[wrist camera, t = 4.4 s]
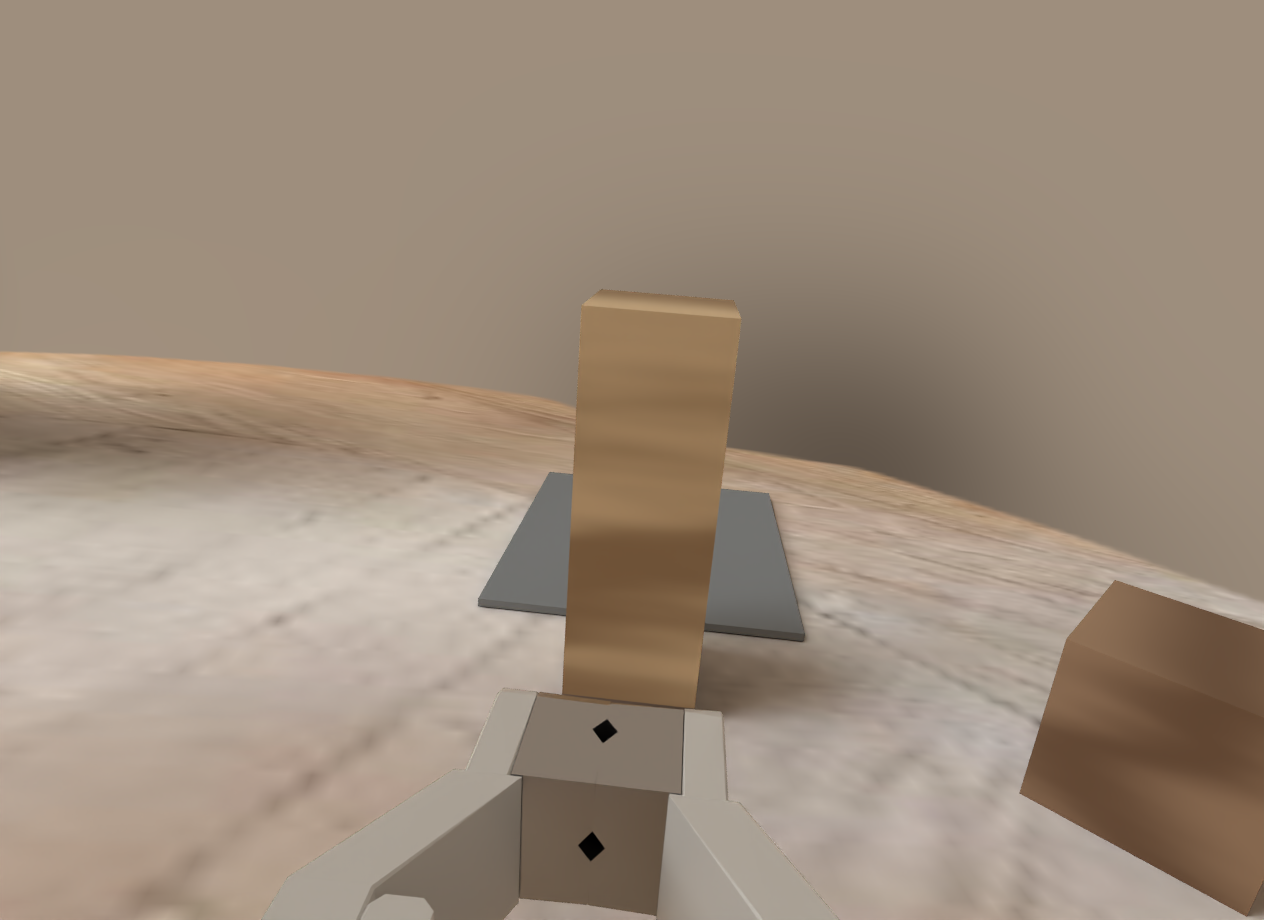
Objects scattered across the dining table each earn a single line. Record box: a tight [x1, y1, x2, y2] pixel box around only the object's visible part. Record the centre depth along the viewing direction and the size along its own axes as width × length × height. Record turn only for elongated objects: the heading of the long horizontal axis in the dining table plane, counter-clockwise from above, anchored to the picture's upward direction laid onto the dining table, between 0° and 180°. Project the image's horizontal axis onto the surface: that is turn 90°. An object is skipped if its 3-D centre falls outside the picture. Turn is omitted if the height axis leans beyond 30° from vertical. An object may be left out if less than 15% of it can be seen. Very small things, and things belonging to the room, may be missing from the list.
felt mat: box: [478, 472, 805, 641], centre depth 34 cm, size 14×12×1 cm
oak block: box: [562, 289, 741, 710], centre depth 22 cm, size 4×4×12 cm
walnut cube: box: [1020, 580, 1264, 916], centre depth 20 cm, size 5×5×5 cm
